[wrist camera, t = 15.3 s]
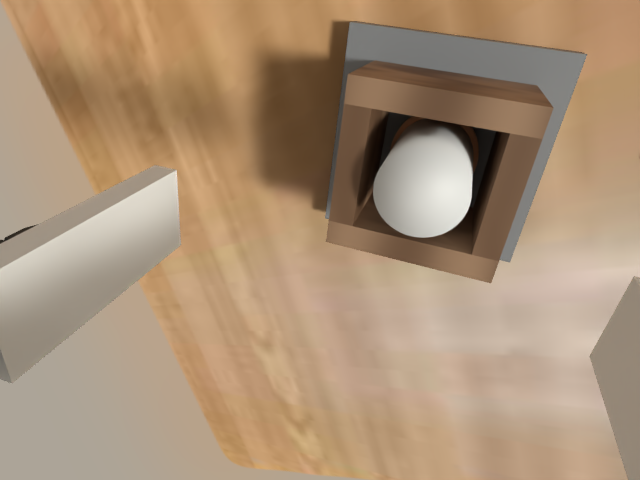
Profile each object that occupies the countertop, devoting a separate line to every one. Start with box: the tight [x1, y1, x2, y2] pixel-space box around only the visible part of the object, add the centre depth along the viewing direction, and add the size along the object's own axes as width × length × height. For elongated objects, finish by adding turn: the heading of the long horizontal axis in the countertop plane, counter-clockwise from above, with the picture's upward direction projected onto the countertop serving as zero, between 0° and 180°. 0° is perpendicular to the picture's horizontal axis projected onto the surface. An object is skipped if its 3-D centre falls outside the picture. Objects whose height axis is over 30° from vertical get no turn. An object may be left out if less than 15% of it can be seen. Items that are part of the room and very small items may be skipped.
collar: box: [326, 60, 554, 283], centre depth 27 cm, size 10×10×7 cm
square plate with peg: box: [325, 21, 587, 262], centre depth 27 cm, size 14×14×10 cm
